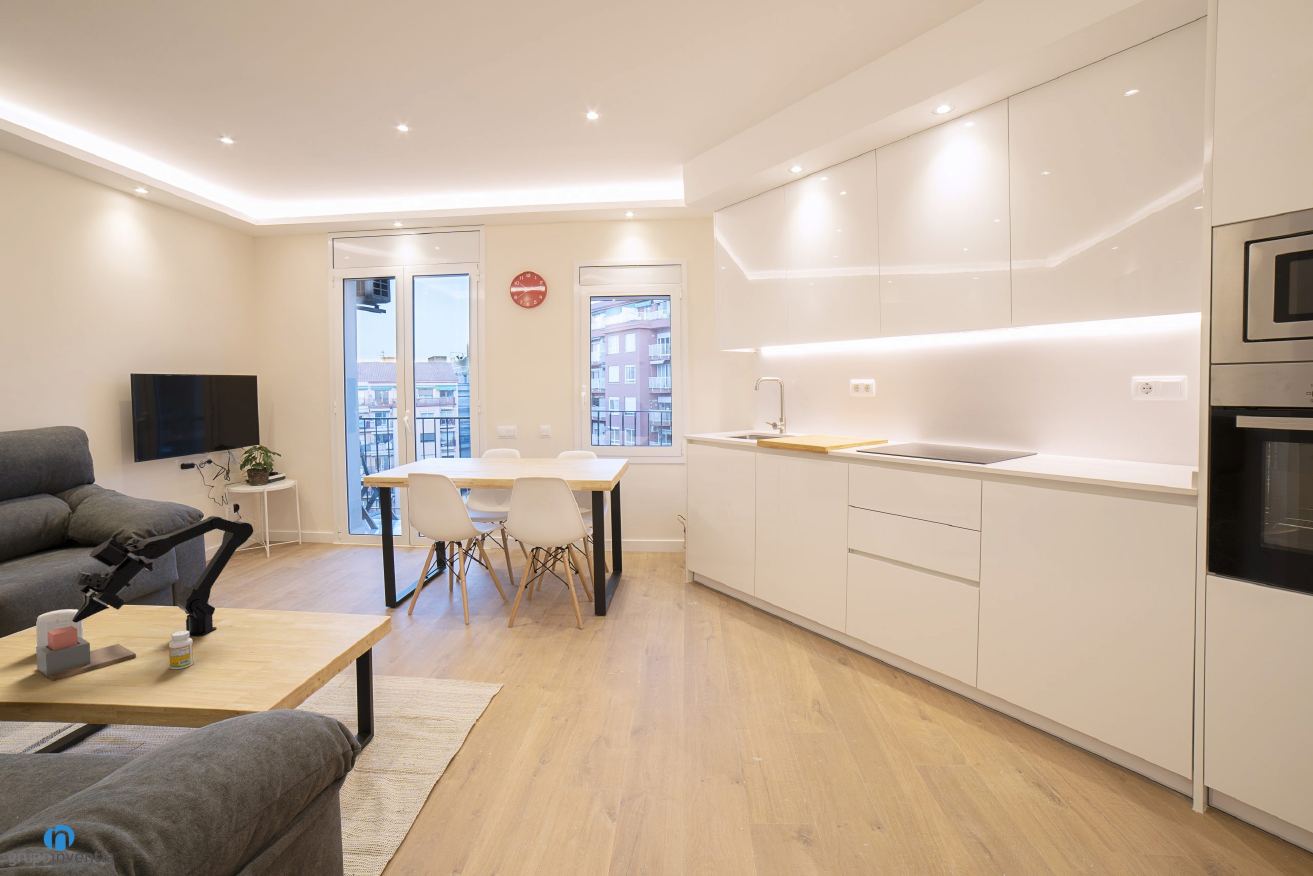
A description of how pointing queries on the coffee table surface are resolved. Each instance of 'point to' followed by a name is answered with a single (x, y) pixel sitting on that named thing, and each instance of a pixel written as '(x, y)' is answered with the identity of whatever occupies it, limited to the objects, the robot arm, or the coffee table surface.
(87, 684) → the coffee table surface
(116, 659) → the board
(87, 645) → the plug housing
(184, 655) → the supplement bottle
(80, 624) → the photo printer
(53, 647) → the plug
